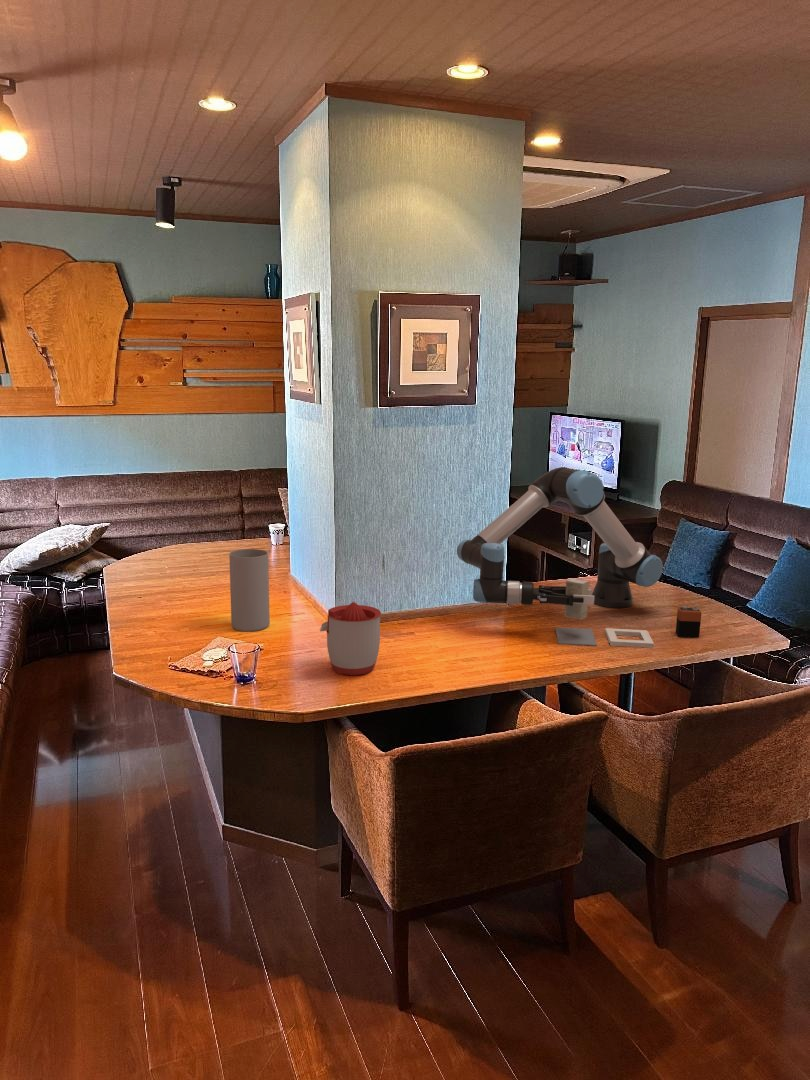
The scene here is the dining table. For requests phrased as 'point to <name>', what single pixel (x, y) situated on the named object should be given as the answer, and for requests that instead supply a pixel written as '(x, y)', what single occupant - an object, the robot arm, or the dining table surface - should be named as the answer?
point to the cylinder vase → (249, 589)
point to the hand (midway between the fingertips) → (592, 596)
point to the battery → (688, 622)
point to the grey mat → (575, 636)
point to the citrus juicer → (353, 638)
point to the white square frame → (644, 641)
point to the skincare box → (576, 589)
